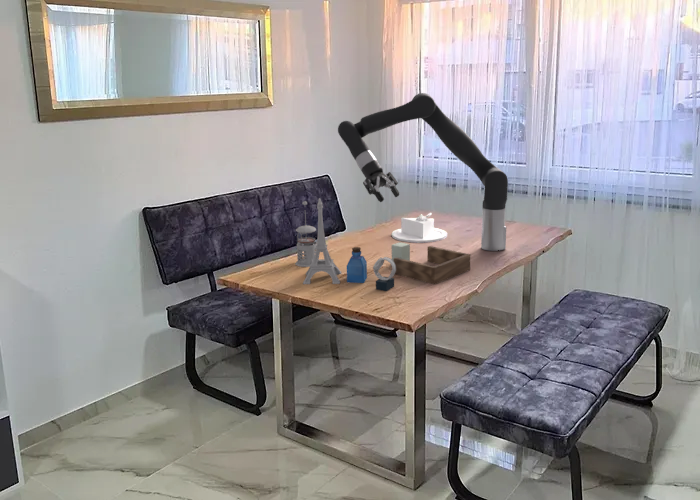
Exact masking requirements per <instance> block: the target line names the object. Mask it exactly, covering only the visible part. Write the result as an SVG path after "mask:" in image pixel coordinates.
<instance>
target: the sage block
mask: <svg viewBox="0 0 700 500" xmlns="http://www.w3.org/2000/svg"><path fill="white" fill-rule="evenodd" d="M394 258H401V259H405V260H409V261H411V244H410V243H407V242H402V241H399V242H396V243H393V244H391V259H392V260H393V261H394Z"/></svg>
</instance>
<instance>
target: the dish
mask: <svg viewBox="0 0 700 500" xmlns="http://www.w3.org/2000/svg"><path fill="white" fill-rule="evenodd" d="M431 216H432V212H428V214H426V215H423V214H422V213H421V214H420V215H419V216H418V215H417V216H416V217H401V221H400V222H401V224H400V225H401V227H400V228H398V229H395V230H393V231H392V233H391V237H392V238H393V239H395V240H397V241H399V242H403V243H413V244H414V243H416V244H417V243H418V244H419V243H422V244H423V243H436V242H439V241H442V240H444V239H446V238H447V237H448V232H447V231H446V230H444V229H441V228H438V227H435V218H431ZM429 217H430V218H429Z"/></svg>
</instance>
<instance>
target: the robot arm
mask: <svg viewBox="0 0 700 500" xmlns="http://www.w3.org/2000/svg"><path fill="white" fill-rule="evenodd" d="M419 119H422V120H423V121H424V122H425V123H426V124H427V125H428V126H430V128H431V129H432V130H433V131H434V132H435V134H436V135H437V137H438V138H439V140H440V142H442V144H444V146H445V147H446V148H447V149H448V150H449V151H450V152H451V153H452V154H453V155H454V156H455V157H456V158H457V159H458V160H459V161H460V162H462V163H463V164H465V166H467V167H468V168H470V169H471V170H472V172H473V173H474V174H475V175H476V176H477V178H478V179H479V181H481V184H483V187H484V192H483V193H484V195H483V200H482V207H481V208H482V209H481V211H482V213H481V214H482V215H481V243H480V247H481V249H482V250H484V251H490V252H491V251H492V252H496V251H497V252H498V250H499V251H503V250H506V247H507V226H506V223H505V222H506V204H507V201H508V188H509V181H508V179H509V178H508V176H507V174H506V173H505V172H504V171H503V170H501V169H500V168H498V167H497V166H496V165H495V164H493V163H492V162H491V161H490V160H488V159H487V157H486V156H485V155H484V154H483V152H482V151H481V149H480V148H479V147H478V145H477V144H476V143H475V141H474V140H473V139H472V138H471V137H470V136H469V134H468V133H466V131H464V129H463V128H461V126H459V125H458V124H457V123H456V122H454V121H453V120H452V119H450V117H449V116H448V115H446V114H445V113H444V112H443V111H442V110H441V108H440V107H439V106H438V104H437V103H436V102H435V100H434V98H433V97H432V96H431V95H430V94H428V93H426V92H425V93H424V92H422V93H421V92H419V93H417V94H415V95H414V96H413V98H412V100H410V101H409V102H406V103H404V104H402V105H400V106H396V107H393V108H389V109H384V110H380V111H377V112H374V113H370V114H368V115H365V116H363V117H361V119H360V121H358V122H356V123H353V122H351V121H349V120H343V121H341V122H340V123H339V124H338V126H337V133H338V135H339V137H340V138H341V140H342V141H343V142H344V143H345V145H346V146H347V148H348V150H349V152H350V154H351V156H352V157H353V158H354V160H355V162H356V164H357V166H358V168H359V170H360V172H361V173H362V174H363V176H364V177H365V179H364V181H363V182H362V183H363V185H364V188H365V189H366V191H367V193H368V195H374V196H375V197H376V199H377V201H378V202H380V203H382V202H383V201H384V200H385V198H384V197H383V195H382V193H381V191H379V189H380V188H381V187H382V188H383V187H384V188H388V189H390V191H391V193H392V194H393V195H394V197H395V198H398V197H399V196H400V192H399V190H398V189H397V185H399V182H398V181H397V180H396V178H395V176H394V175H393V174H392V172H391V171H388V172H387V173H386V174H385V173H384V171H383V167H382V166H381V164H380V162H379V161H378V159H377V157H376V156H375V154H373V152H372V151H371V149H370V148H369V146H368V145H367V143H366V142H365V141H364V140H363V138H365V137H366V136H369V135H370V134H373V133H377V132H378V131H382V130H384V129H387V128H390V127H392V126H395V125H398V124H400V123H404V122H408V121H412V120H413V121H414V120H419Z"/></svg>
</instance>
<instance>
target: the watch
mask: <svg viewBox="0 0 700 500" xmlns="http://www.w3.org/2000/svg"><path fill="white" fill-rule="evenodd" d="M385 261H387V262H388V263H389V264H390V265H391V271H390V274H389V276H383V275H381V273H380V272H379V270H380V269H381V268H382V267H383V265H384V263H385ZM372 269H373V272H374V275H375V277H376V278H378V279H377V280H375V290H377V291H383V292H388V291H390V290H391V289H393V288H395V278H394V276H395V275H396V274H395V272H396V266H395V263H394V261H393V260H392V258H391V257H387V256H384V257H383V256H382V257H380V258H378V259H377V260H376V261H375V263H374V264H373V266H372Z"/></svg>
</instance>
